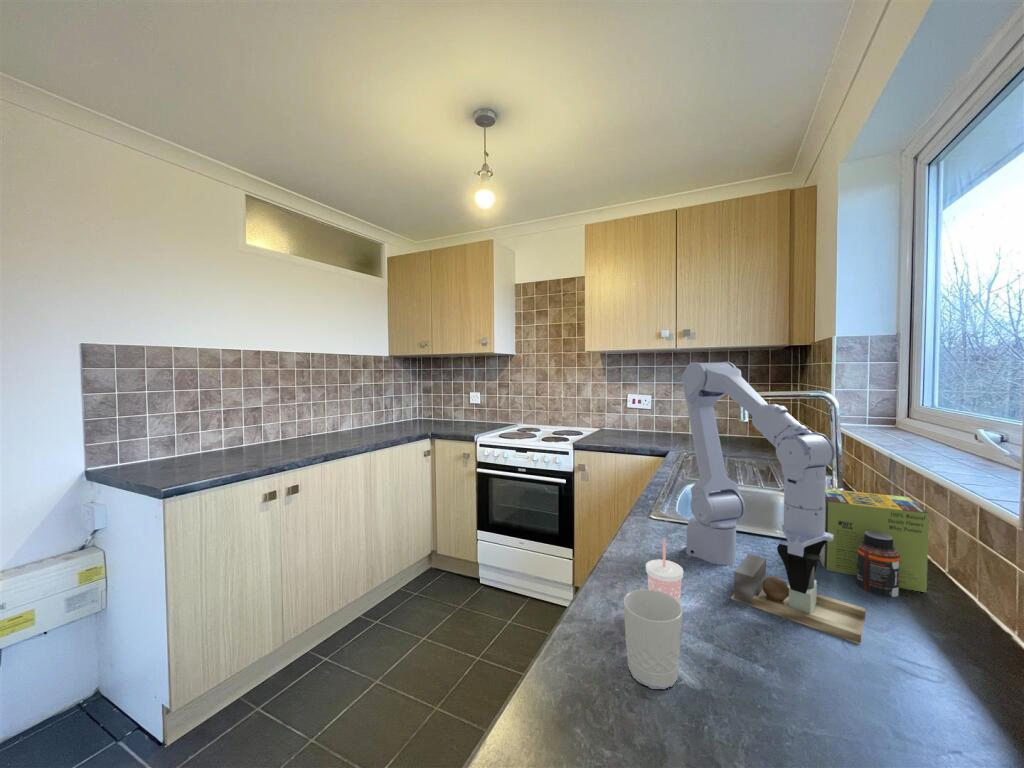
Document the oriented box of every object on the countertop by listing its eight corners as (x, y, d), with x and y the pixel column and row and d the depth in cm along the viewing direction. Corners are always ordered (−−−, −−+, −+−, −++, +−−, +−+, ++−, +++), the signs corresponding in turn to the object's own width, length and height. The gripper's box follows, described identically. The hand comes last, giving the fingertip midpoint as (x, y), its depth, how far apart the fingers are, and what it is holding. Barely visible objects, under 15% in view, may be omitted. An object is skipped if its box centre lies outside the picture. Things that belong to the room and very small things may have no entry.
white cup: (640, 645, 64) (640, 583, 63) (691, 671, 58) (691, 603, 58) (613, 672, 58) (613, 604, 58) (666, 704, 53) (666, 629, 52)
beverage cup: (648, 604, 74) (648, 529, 74) (684, 613, 72) (684, 535, 71) (643, 624, 69) (642, 543, 68) (682, 634, 66) (682, 549, 66)
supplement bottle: (907, 605, 73) (909, 543, 72) (869, 601, 74) (871, 540, 74) (884, 587, 79) (886, 529, 78) (849, 584, 80) (850, 527, 79)
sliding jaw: (788, 610, 69) (789, 564, 69) (795, 596, 74) (796, 552, 73) (810, 618, 67) (811, 571, 67) (816, 602, 72) (817, 558, 71)
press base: (730, 604, 74) (730, 571, 74) (746, 582, 81) (746, 552, 81) (860, 652, 61) (861, 612, 61) (865, 621, 69) (866, 585, 68)
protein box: (928, 594, 76) (930, 513, 75) (825, 575, 83) (827, 501, 83) (906, 569, 85) (909, 496, 84) (816, 554, 92) (817, 487, 92)
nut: (759, 599, 73) (760, 577, 73) (765, 590, 76) (765, 569, 76) (786, 608, 70) (786, 586, 70) (790, 598, 73) (791, 577, 73)
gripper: (827, 522, 62) (825, 609, 62) (839, 498, 72) (837, 573, 73) (773, 511, 67) (772, 592, 67) (791, 490, 77) (790, 560, 78)
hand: (802, 581), depth 70 cm, fingers open, 7 cm apart
